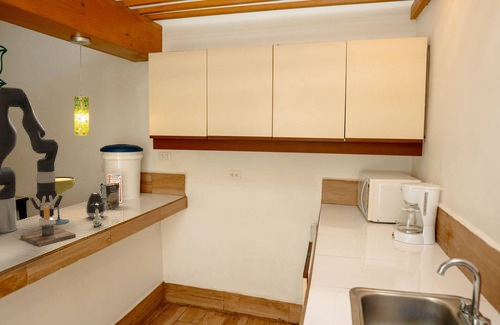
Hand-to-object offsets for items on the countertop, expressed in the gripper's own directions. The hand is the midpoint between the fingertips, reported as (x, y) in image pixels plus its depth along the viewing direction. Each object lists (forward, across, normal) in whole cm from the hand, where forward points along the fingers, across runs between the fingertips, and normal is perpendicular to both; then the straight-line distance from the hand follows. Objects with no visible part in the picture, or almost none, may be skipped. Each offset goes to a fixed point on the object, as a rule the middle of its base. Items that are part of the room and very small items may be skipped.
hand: (46, 217), depth 165 cm
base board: (+12, +2, +7) cm, 14 cm away
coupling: (+6, +1, +4) cm, 7 cm away
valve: (+12, +28, +15) cm, 33 cm away
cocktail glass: (+12, +12, +34) cm, 38 cm away
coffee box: (+11, +47, +50) cm, 70 cm away
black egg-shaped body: (+12, +32, +32) cm, 47 cm away
